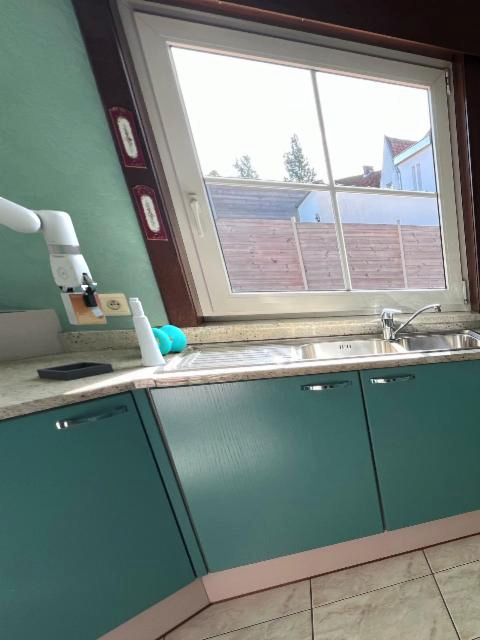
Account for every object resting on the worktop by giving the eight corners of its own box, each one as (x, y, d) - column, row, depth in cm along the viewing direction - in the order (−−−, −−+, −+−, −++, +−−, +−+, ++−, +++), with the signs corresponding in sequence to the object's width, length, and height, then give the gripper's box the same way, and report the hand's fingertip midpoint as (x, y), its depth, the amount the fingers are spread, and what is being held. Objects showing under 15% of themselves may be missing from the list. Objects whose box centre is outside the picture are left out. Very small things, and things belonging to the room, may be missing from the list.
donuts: (143, 355, 182) (135, 328, 178) (167, 350, 191) (159, 324, 187) (170, 356, 181) (161, 328, 178) (191, 351, 191) (184, 325, 187)
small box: (77, 325, 168) (67, 293, 164) (69, 324, 170) (59, 292, 166) (107, 323, 175) (98, 292, 171) (99, 322, 177) (90, 291, 173)
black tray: (39, 378, 148) (36, 369, 147) (86, 369, 160) (83, 361, 159) (68, 380, 147) (65, 372, 146) (113, 371, 158) (111, 363, 157)
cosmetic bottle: (142, 364, 169) (120, 297, 160) (165, 362, 173) (145, 297, 164) (143, 367, 165) (121, 299, 156) (166, 364, 168) (146, 298, 160)
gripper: (30, 249, 162) (50, 305, 168) (73, 251, 159) (91, 308, 166) (57, 250, 169) (75, 304, 175) (99, 252, 166) (115, 307, 173)
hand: (83, 306), depth 170 cm, fingers closed on small box, 6 cm apart
